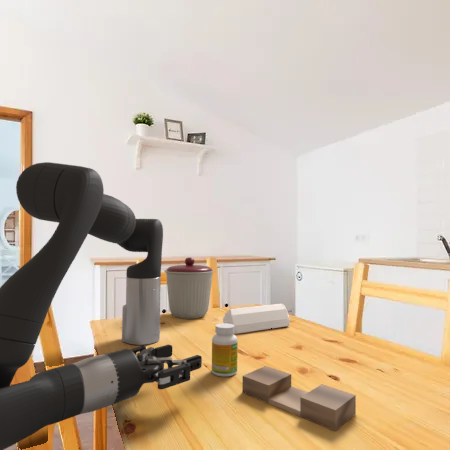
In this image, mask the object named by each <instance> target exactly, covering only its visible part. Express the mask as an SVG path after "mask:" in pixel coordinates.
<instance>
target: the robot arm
mask: <svg viewBox="0 0 450 450" xmlns="http://www.w3.org/2000/svg"><path fill="white" fill-rule="evenodd" d="M15 189H16V196H17V200H18V202H19V205H21V208H22V209H23V210H24V212H26V213H27V214H28V215H30V216H31V217H32V218H35V219H37V220H40V221H44V222H45V221H46V222H52V223H58V225H57V227H56V229H55V231H54V232H53V234H52V235H51V237H50V238H49V239H48V240H47V242H46V243H45V245H43V246H42V247H41V248H40V249H39V251H38V252H37V253H36V254H35V255H33V256H32V257H31V258H30V259H29V260H28V261H26V263H24V264H23V265H22V266H21V267H19V268H18V269H17V270H16V271H15V272H14V273H12V275H11V276H10V277H8V279H7V280H5V282H4V283H3V284H1V286H0V450H6V449H7V448H10V447H12V446H14V445H16V444H18V443H19V442H22V441H23V440H25V439H26V438H28V437H30V436H32V435H34V434H35V433H37V432H39V431H40V430H41V429H43V428H45V427H47V426H50V425H54V424H57V423H59V422H63V421H65V420H67V419H71V418H73V417H76V416H80V415H83V414H88V413H92V412H95V411H99V410H102V409H104V408H107V407H109V406H113V405H115V404H118V403H121V402H123V401H126V400H129V399H131V398H133V397H135V396H137V395H138V394H139V392H140V390H141V389H142V387H143V386H144V384H154V383H155V382H156V383H157V389H158V390H165V389H168V388H171V387H174V386H177V385H179V384H183V383H185V382H188V381H190V380H191V372H193V371H196V370H200V369H201V368H202V366H203V365H202V363H203V359H202V356H201V355H198V354H196V355H193V356H189V357H186V358H183V359H173V358H172V356H173V345H171V344H165V345H160V346H158V347H153V346H149V347H147V346H146V345H150V344H154V343H156V342H158V341H160V339H161V338H160V337H161V336H160V335H161V334H160V333H161V330H160V329H161V285H162V283H161V281H162V280H161V279H162V278H161V276H162V259H163V258H162V255H163V254H162V253H163V243H164V242H163V240H164V228H163V224H162V221H161V220H160V219H157V218H136V216H135V213H134V211H133V210H132V209H131V208H130V207H129V205H127V204H126V203H124V202H123V201H122V200H120V199H118V198H116V197H114V196H112V195H109V194H105V193H104V191H105V190H104V184H103V180H102V177H101V175H100V174H99V172H98V171H96V170H95V169H93V168H90V167H86V166H81V165H72V164H64V163H57V162H50V161H49V162H48V161H47V162H46V161H45V162H37V163H34V164H31V165H30V166H27V167H25V169H24V170H23V171H21V173H20V175H19V176H18V179H17V181H16V186H15ZM88 235H90V236H92V237H95V238H97V239H99V240H101V241H105V242H108V243H112V244H116V245H119V247H121V248H122V249H123V250H125V251H128V252H132V253H147V255H146V258H145V259H143V260H142V261H140V262H138V263H135V264H132V265H129V266H128V267H127V268H126V273H125V275H126V278H125V279H126V283H125V304H124V305H122V311H121V313H122V320H121V342H123V343H127V344H129V345H138V346H136V347H133V348H129V349H128V348H122V349H119V350H115V351H114V350H113V351H110V352H107V353H103V354H99V355H94V356H90V357H87V358H83V359H81V360H79V361H75V362H73V363H70V364H66V365H62V366H61V365H60V366H58V367H54V368H51V369H47V370H44V371H40V372H38V373H36V374H34V375H33V376H32V377H30V378H29V380H26V381H22V382H20V383H19V382H18V383H15V384H12V385H11V383H12V381H13V380H14V377H15V376H16V374H17V371H18V370H19V369H20V368H22V367H24V366H25V365H26V364H27V363H28V361H29V360H30V358H31V357H32V354H33V351H34V349H35V347H36V344H37V342H38V339H39V336H40V334H41V331H42V328H43V325H44V323H45V320H46V317H47V314H48V311H49V310H50V308H51V305H52V302H53V300H54V298H55V295H56V293H57V291H58V290H59V287H60V286H61V284H62V282H63V280H64V278H65V277H66V274H67V272H68V271H69V268H70V267H71V265H72V264H73V262H74V260H75V259H76V256H77V255H78V253H79V252H80V249H81V248H82V246H83V244H84V242H85V240H86V238H87V237H88ZM146 347H147V348H146ZM165 364H166V365H167V368H165Z"/></svg>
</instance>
